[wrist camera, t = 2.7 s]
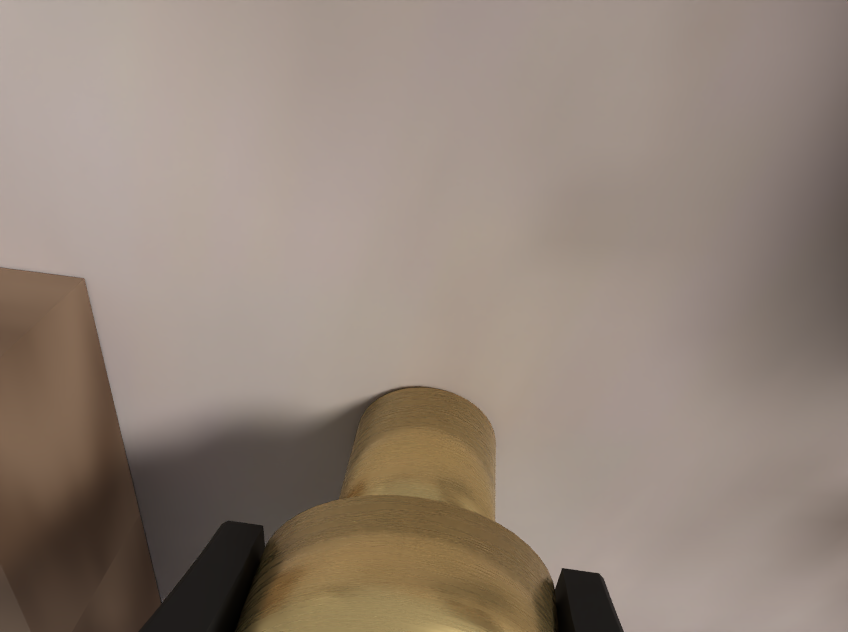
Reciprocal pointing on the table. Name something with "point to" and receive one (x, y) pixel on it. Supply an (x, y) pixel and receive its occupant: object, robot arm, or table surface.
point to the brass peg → (405, 536)
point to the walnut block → (64, 471)
